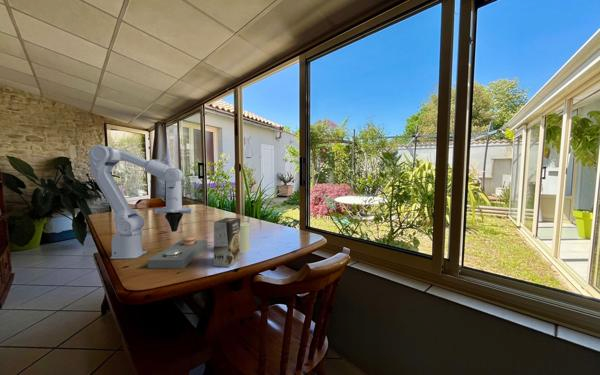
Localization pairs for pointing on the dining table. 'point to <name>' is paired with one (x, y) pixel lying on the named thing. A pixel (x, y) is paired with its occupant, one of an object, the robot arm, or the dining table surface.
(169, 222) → the robot arm
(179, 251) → the grey plunger
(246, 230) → the can
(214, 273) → the dining table surface
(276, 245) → the dining table surface
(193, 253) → the console
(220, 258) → the coffee box
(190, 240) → the tan rounded lump
